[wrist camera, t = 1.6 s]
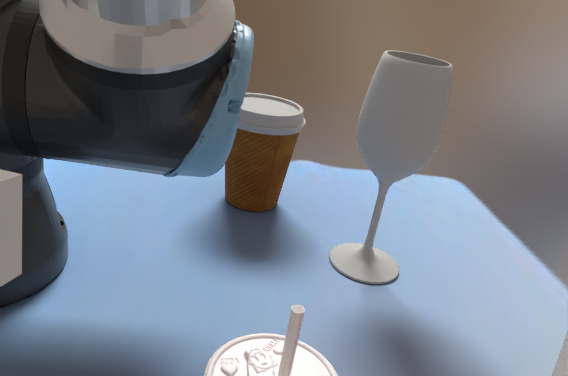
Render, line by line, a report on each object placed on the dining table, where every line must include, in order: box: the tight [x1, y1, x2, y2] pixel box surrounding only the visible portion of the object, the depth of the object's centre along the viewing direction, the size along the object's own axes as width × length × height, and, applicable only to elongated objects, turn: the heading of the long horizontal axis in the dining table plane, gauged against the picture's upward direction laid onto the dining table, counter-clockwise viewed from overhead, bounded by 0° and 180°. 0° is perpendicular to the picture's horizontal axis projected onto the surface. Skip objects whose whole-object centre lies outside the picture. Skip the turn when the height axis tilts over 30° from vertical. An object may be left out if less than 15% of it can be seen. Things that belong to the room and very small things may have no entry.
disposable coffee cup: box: [225, 93, 306, 211], centre depth 59 cm, size 10×10×12 cm
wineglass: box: [329, 51, 453, 284], centre depth 48 cm, size 8×8×21 cm
